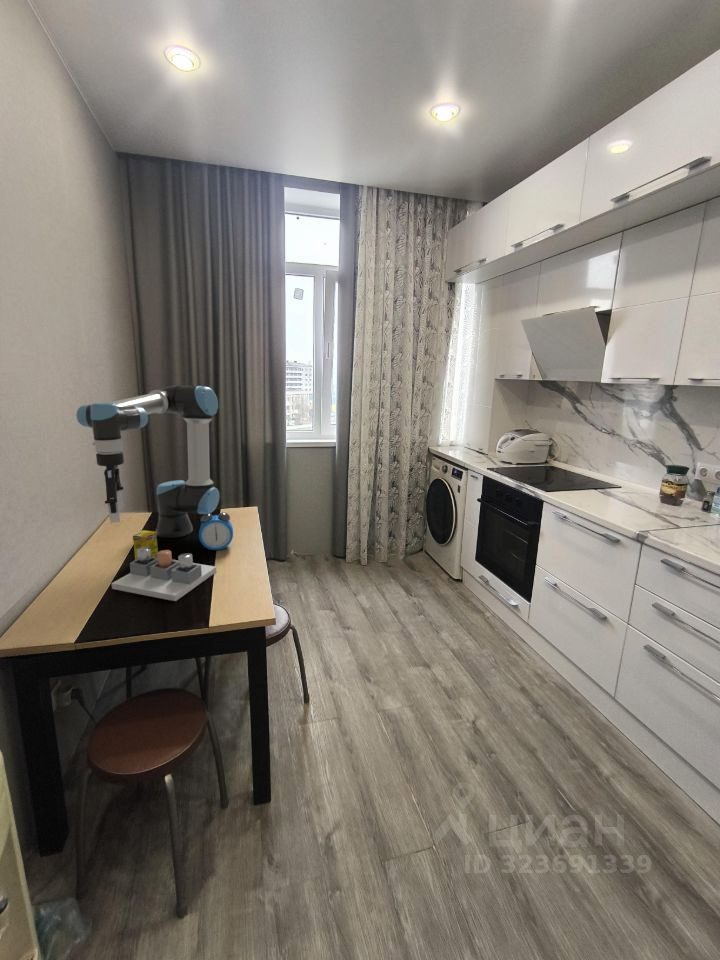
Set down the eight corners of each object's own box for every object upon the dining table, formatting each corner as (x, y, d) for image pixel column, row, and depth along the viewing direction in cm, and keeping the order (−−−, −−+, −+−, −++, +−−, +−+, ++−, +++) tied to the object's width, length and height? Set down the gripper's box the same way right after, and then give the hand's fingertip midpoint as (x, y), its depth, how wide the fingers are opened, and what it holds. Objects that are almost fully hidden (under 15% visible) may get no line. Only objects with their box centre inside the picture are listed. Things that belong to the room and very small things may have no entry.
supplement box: (149, 564, 163) (146, 537, 161) (135, 562, 165) (132, 535, 162) (159, 557, 169) (156, 531, 166) (145, 556, 170) (142, 529, 168)
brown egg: (164, 562, 153) (163, 549, 152) (175, 564, 152) (173, 550, 151) (155, 567, 149) (154, 554, 148) (166, 569, 148) (165, 555, 147)
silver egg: (185, 565, 151) (184, 552, 150) (196, 567, 150) (195, 554, 148) (176, 571, 147) (175, 557, 145) (187, 573, 146) (186, 559, 144)
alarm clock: (200, 552, 175) (197, 517, 171) (200, 546, 181) (198, 512, 177) (233, 549, 179) (232, 514, 175) (233, 543, 184) (231, 510, 181)
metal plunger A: (144, 559, 155) (143, 546, 154) (154, 560, 154) (153, 547, 153) (135, 564, 151) (133, 550, 150) (145, 565, 150) (144, 552, 149)
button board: (159, 562, 165) (157, 547, 164) (216, 571, 159) (215, 556, 157) (112, 588, 145) (110, 572, 143) (175, 601, 138) (174, 584, 137)
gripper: (100, 446, 148) (107, 505, 153) (90, 460, 126) (99, 529, 131) (125, 445, 151) (131, 503, 156) (119, 458, 129) (127, 526, 134)
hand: (117, 515), depth 144 cm, fingers open, 13 cm apart
